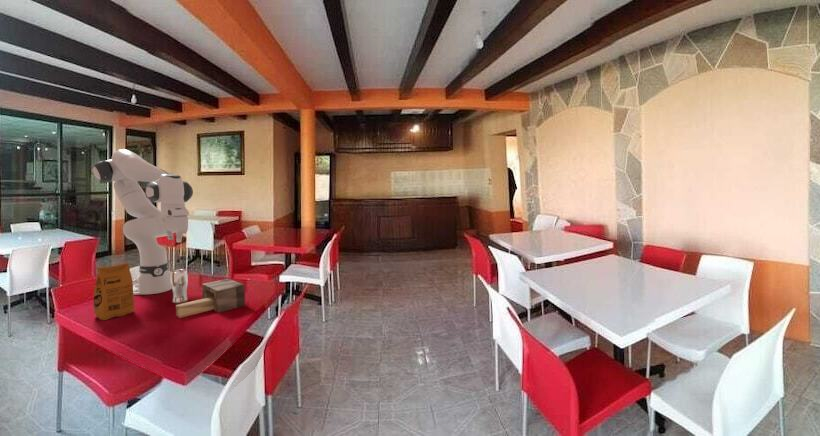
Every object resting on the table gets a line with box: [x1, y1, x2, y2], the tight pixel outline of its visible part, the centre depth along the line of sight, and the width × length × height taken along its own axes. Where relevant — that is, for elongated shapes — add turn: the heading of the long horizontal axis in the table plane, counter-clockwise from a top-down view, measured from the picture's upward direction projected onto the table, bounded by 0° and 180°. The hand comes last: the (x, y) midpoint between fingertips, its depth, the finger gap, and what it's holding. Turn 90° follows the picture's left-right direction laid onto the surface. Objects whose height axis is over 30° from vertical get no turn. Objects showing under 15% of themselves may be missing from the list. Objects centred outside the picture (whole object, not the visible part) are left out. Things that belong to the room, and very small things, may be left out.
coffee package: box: [93, 262, 135, 321], centre depth 146 cm, size 10×12×22 cm
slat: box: [175, 296, 215, 319], centre depth 153 cm, size 4×18×5 cm, turn 141°
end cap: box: [201, 278, 246, 314], centre depth 161 cm, size 16×12×10 cm
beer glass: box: [170, 268, 189, 304], centre depth 164 cm, size 7×7×15 cm
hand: (174, 241), depth 153 cm, fingers open, 8 cm apart
